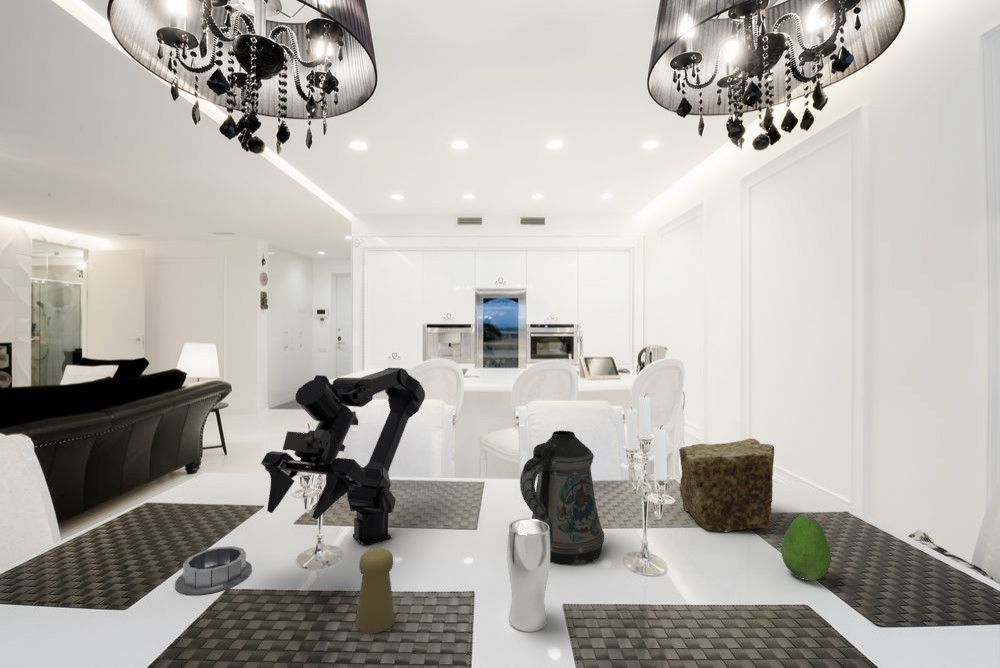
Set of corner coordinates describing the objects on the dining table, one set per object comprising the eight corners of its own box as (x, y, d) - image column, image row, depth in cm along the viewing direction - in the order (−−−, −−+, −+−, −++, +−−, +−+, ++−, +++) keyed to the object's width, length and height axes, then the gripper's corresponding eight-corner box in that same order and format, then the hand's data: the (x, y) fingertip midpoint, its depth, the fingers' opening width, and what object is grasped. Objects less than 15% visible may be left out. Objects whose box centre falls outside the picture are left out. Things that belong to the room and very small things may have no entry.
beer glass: (504, 608, 77) (505, 518, 77) (545, 607, 77) (546, 517, 78) (508, 635, 70) (510, 535, 70) (553, 633, 70) (555, 535, 71)
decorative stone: (688, 447, 109) (672, 431, 129) (689, 533, 109) (672, 504, 129) (786, 450, 106) (754, 434, 125) (788, 539, 105) (755, 509, 125)
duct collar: (243, 555, 94) (244, 538, 94) (258, 579, 85) (259, 560, 85) (171, 574, 86) (172, 555, 86) (179, 603, 77) (180, 582, 77)
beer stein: (611, 540, 104) (612, 429, 104) (590, 580, 86) (592, 447, 86) (541, 526, 111) (543, 422, 111) (509, 561, 93) (511, 437, 93)
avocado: (818, 593, 83) (818, 526, 83) (773, 574, 90) (773, 512, 90) (838, 581, 87) (838, 518, 88) (794, 564, 94) (794, 505, 94)
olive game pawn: (384, 636, 69) (385, 562, 69) (347, 630, 70) (349, 558, 70) (400, 613, 75) (402, 545, 75) (366, 608, 76) (368, 541, 76)
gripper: (266, 408, 85) (217, 490, 75) (354, 414, 80) (314, 502, 70) (297, 438, 93) (257, 515, 83) (379, 445, 88) (347, 528, 78)
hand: (291, 515), depth 79 cm, fingers open, 9 cm apart
